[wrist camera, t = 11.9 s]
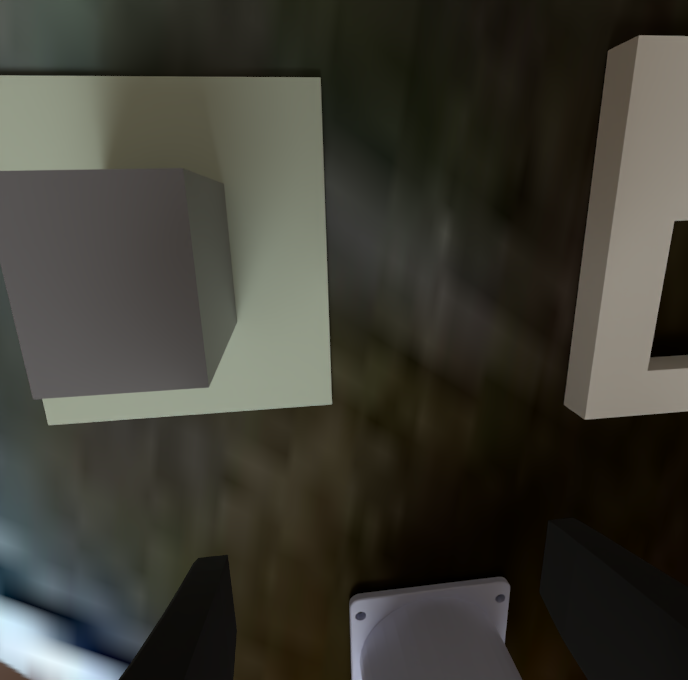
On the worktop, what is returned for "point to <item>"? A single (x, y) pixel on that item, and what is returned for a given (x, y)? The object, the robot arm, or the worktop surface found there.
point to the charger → (117, 278)
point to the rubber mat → (241, 205)
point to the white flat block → (632, 235)
